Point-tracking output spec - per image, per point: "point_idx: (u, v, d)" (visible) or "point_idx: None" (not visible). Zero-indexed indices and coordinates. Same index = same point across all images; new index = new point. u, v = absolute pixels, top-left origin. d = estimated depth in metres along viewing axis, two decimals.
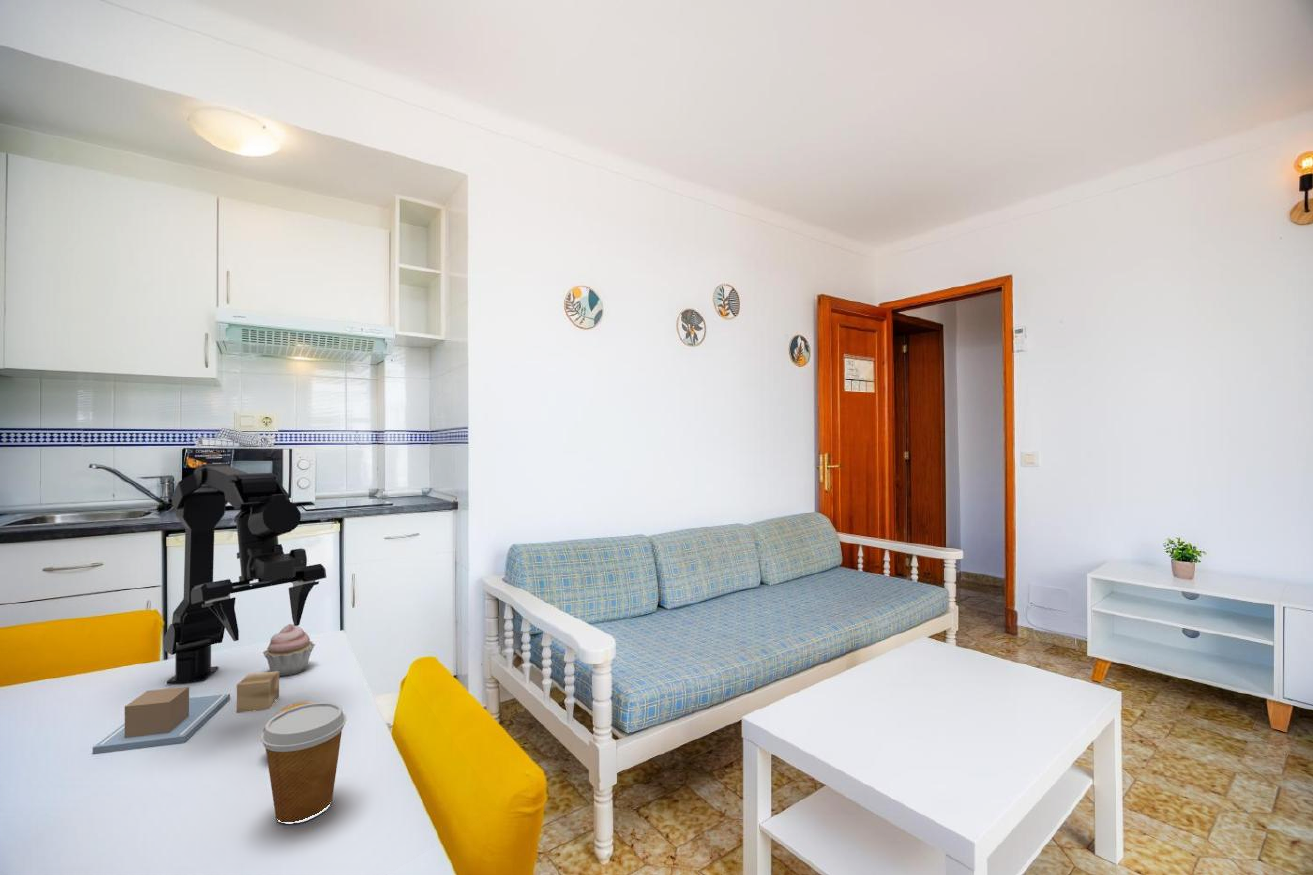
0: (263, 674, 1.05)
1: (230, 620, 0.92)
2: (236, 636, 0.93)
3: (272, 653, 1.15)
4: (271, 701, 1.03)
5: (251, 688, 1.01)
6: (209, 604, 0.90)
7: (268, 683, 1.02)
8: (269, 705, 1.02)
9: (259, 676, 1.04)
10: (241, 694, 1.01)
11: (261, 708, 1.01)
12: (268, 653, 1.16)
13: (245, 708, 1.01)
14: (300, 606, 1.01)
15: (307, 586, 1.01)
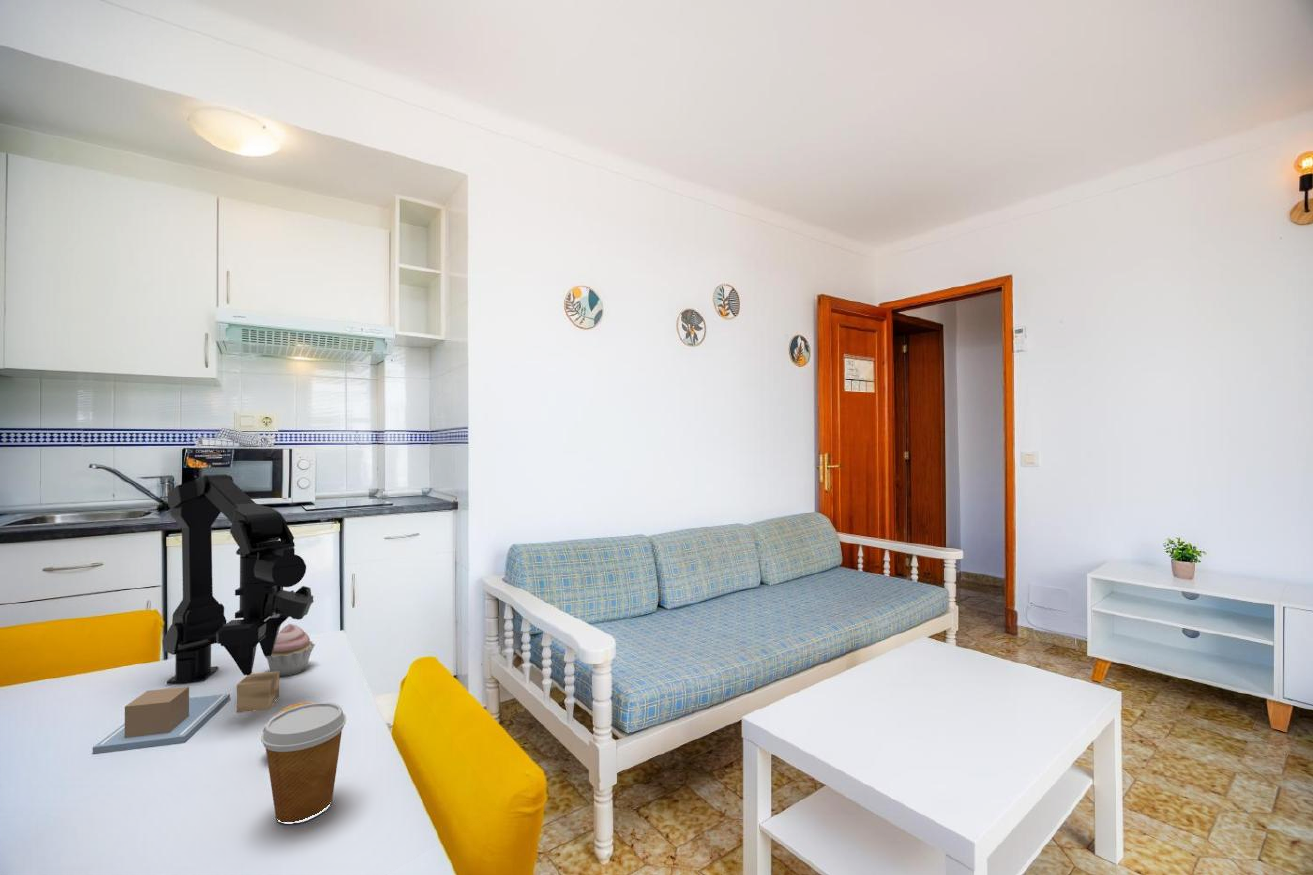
0: (263, 674, 1.05)
1: (253, 656, 0.99)
2: (250, 671, 0.99)
3: (272, 653, 1.15)
4: (271, 701, 1.03)
5: (251, 688, 1.01)
6: (245, 643, 0.96)
7: (268, 683, 1.02)
8: (269, 705, 1.02)
9: (259, 676, 1.04)
10: (241, 694, 1.01)
11: (261, 708, 1.01)
12: None
13: (245, 708, 1.01)
14: (275, 637, 1.09)
15: None
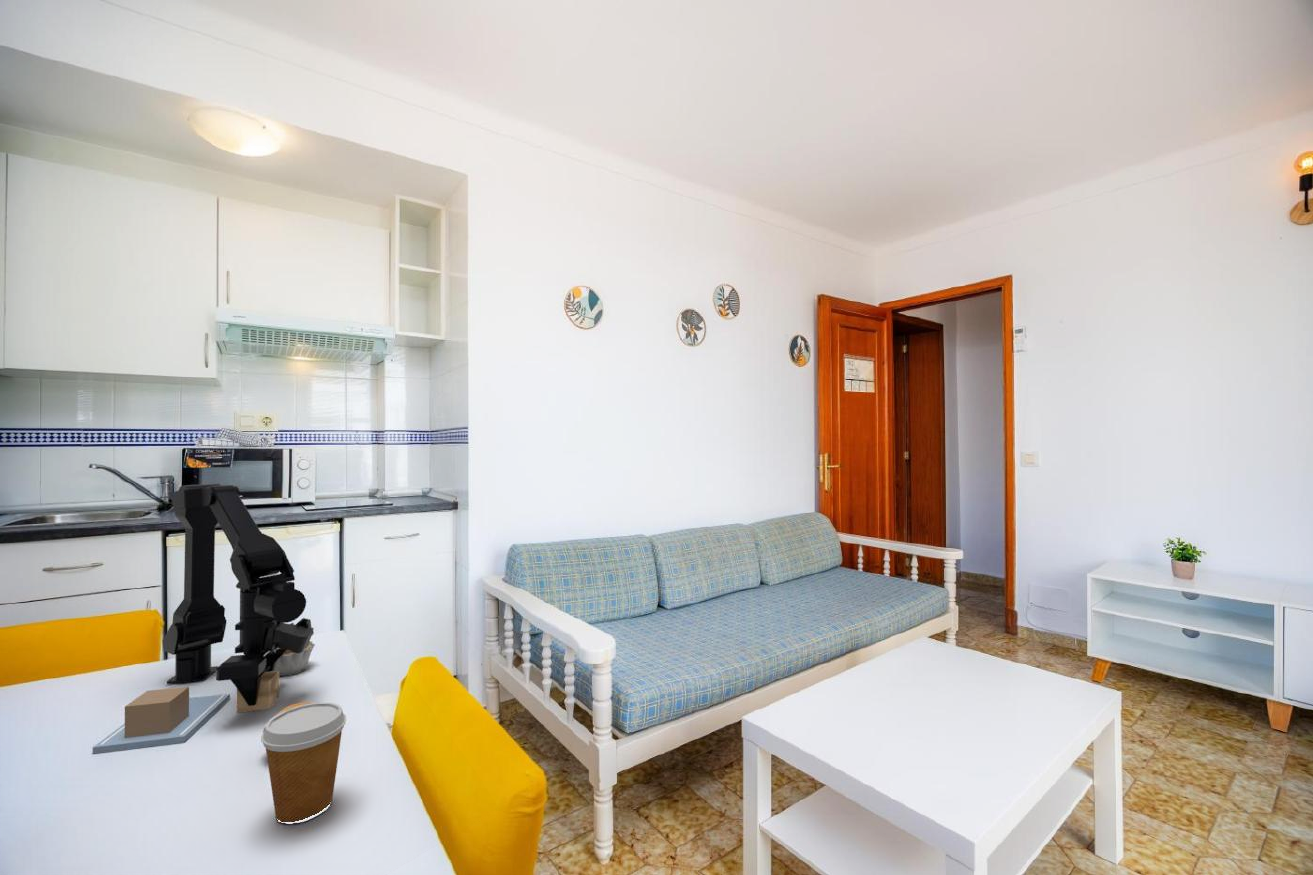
0: None
1: (257, 687, 1.00)
2: (255, 701, 1.01)
3: None
4: (271, 701, 1.03)
5: None
6: None
7: (268, 682, 1.02)
8: (269, 704, 1.02)
9: None
10: None
11: (261, 707, 1.01)
12: None
13: (245, 707, 1.01)
14: None
15: (282, 654, 1.08)
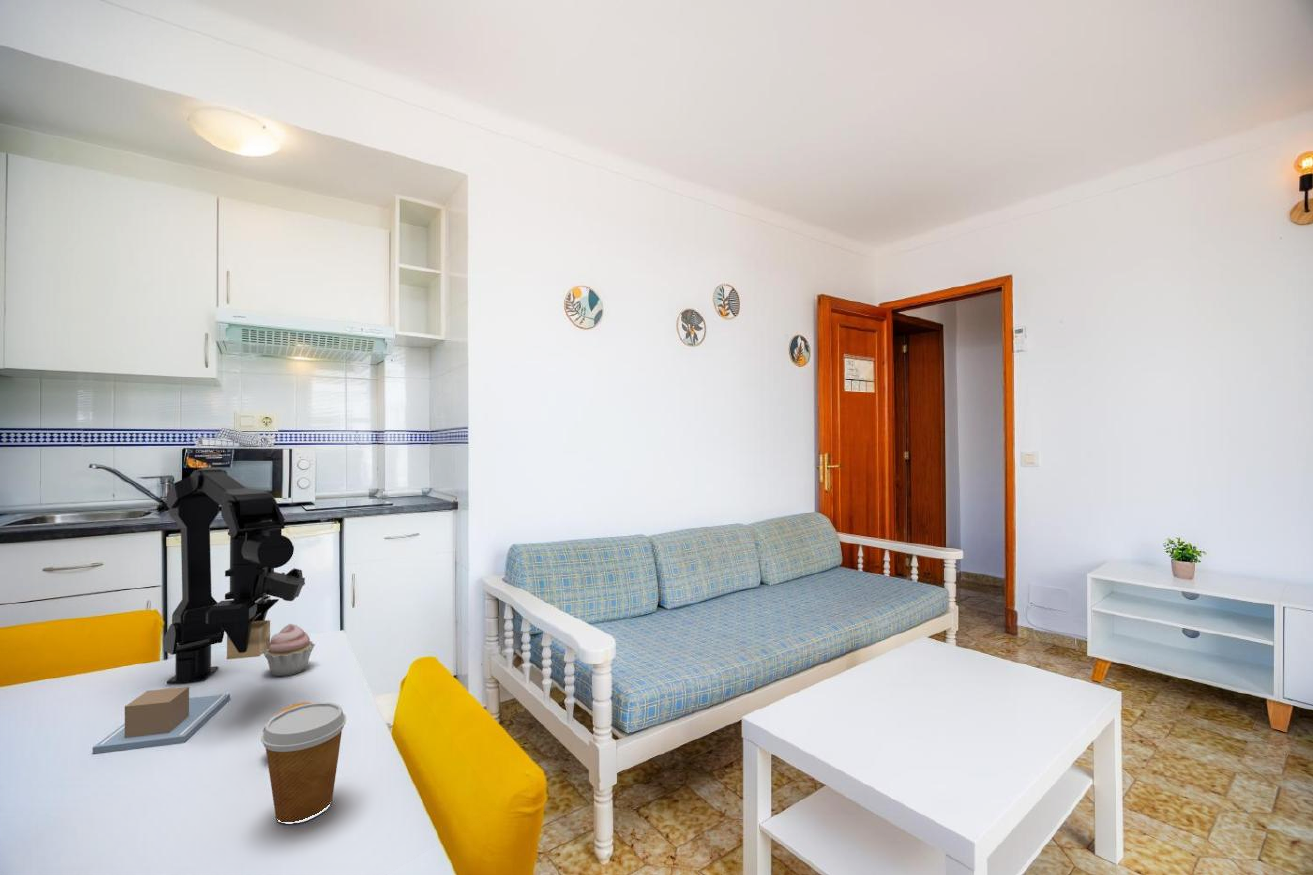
0: (254, 622, 1.04)
1: (248, 633, 0.99)
2: (245, 648, 1.00)
3: (272, 653, 1.15)
4: (262, 649, 1.02)
5: None
6: None
7: (259, 630, 1.01)
8: (260, 652, 1.01)
9: None
10: None
11: (252, 655, 1.00)
12: (268, 653, 1.16)
13: (235, 654, 1.00)
14: None
15: (273, 604, 1.07)
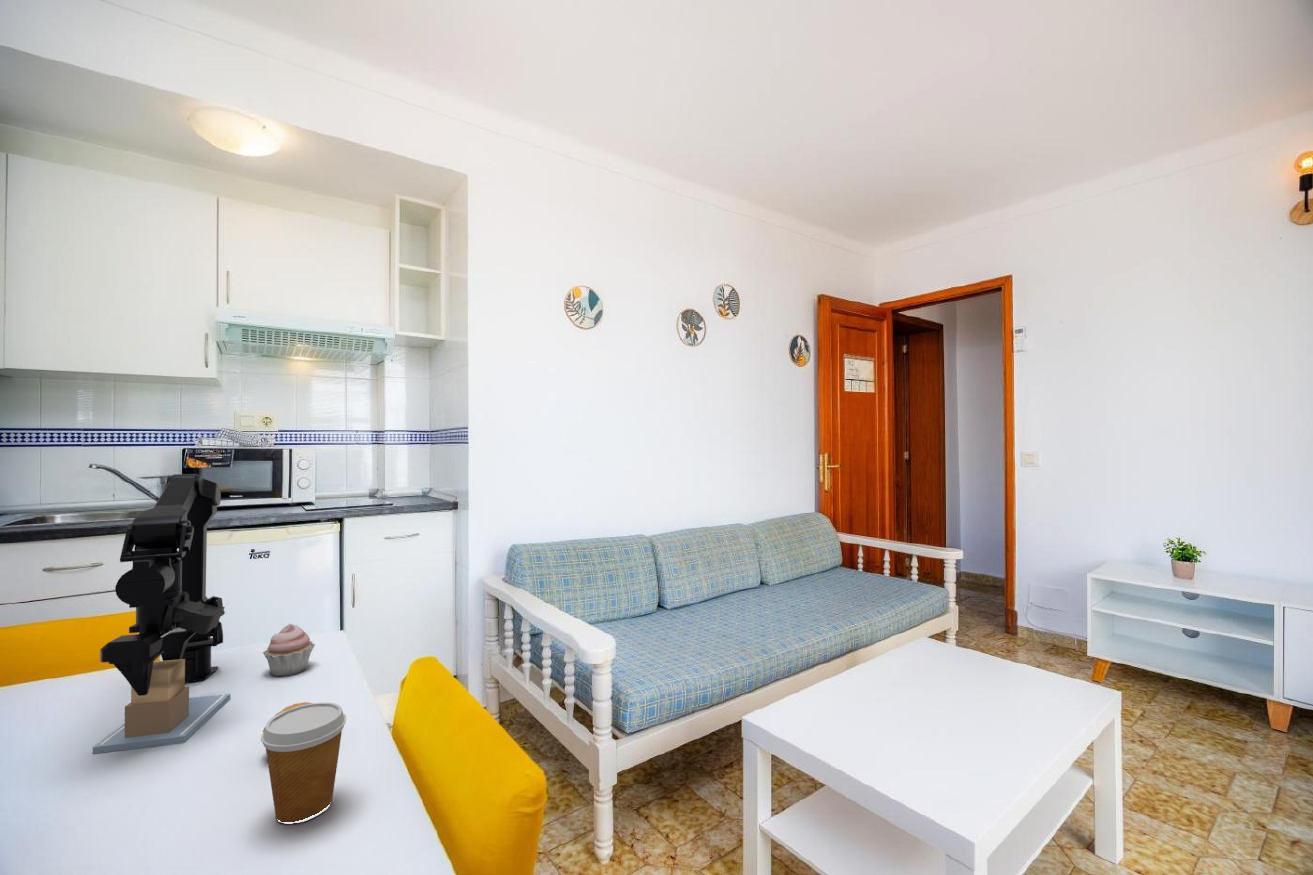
0: (165, 662, 0.95)
1: (148, 674, 0.89)
2: (146, 690, 0.89)
3: (272, 653, 1.15)
4: (172, 692, 0.93)
5: None
6: (137, 660, 0.86)
7: (168, 671, 0.92)
8: (169, 696, 0.92)
9: (160, 664, 0.94)
10: None
11: (159, 699, 0.91)
12: (268, 653, 1.16)
13: (141, 699, 0.91)
14: (181, 654, 0.98)
15: (194, 633, 1.00)
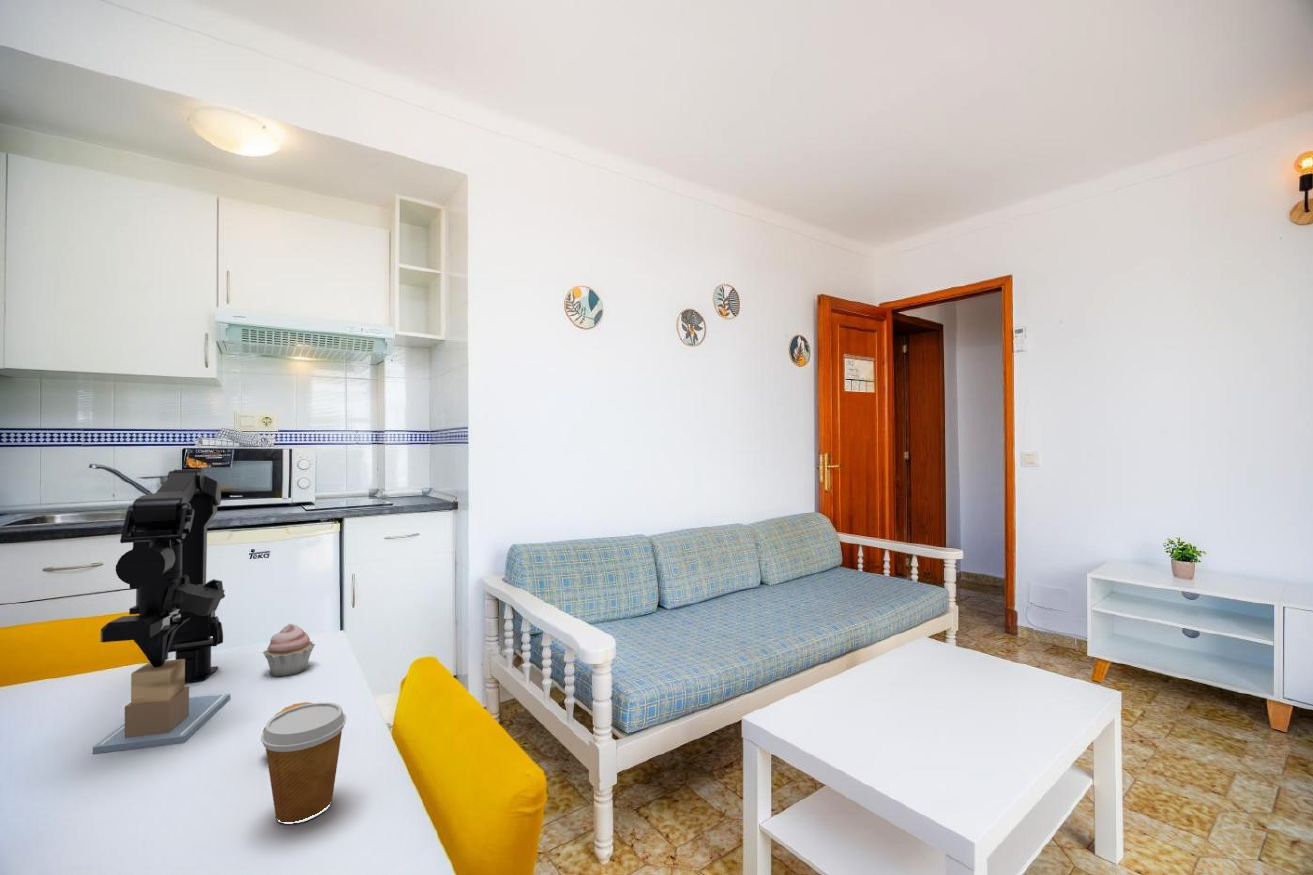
0: (165, 662, 0.95)
1: (163, 647, 0.93)
2: (161, 662, 0.93)
3: (272, 653, 1.15)
4: (172, 692, 0.93)
5: (148, 677, 0.91)
6: None
7: (168, 672, 0.92)
8: (169, 696, 0.92)
9: None
10: (136, 684, 0.91)
11: (159, 699, 0.91)
12: (268, 653, 1.16)
13: (141, 699, 0.91)
14: (169, 644, 0.94)
15: (182, 623, 0.96)
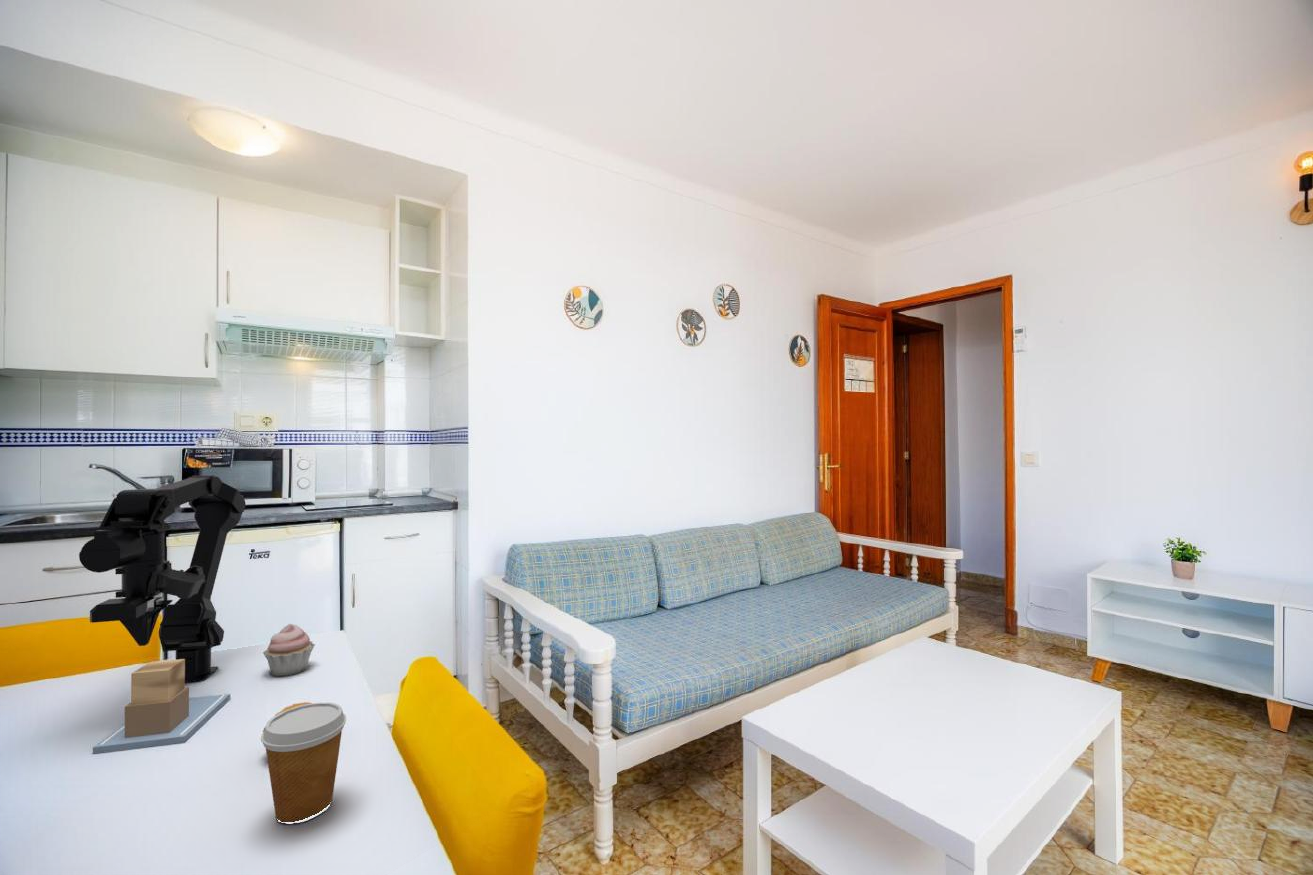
0: (165, 662, 0.95)
1: (148, 627, 1.01)
2: (146, 641, 1.01)
3: (272, 653, 1.15)
4: (172, 692, 0.93)
5: (148, 677, 0.91)
6: None
7: (168, 671, 0.92)
8: (169, 696, 0.92)
9: (160, 664, 0.94)
10: (136, 684, 0.91)
11: (159, 699, 0.91)
12: (268, 653, 1.16)
13: (141, 699, 0.91)
14: (153, 625, 1.02)
15: (165, 605, 1.03)
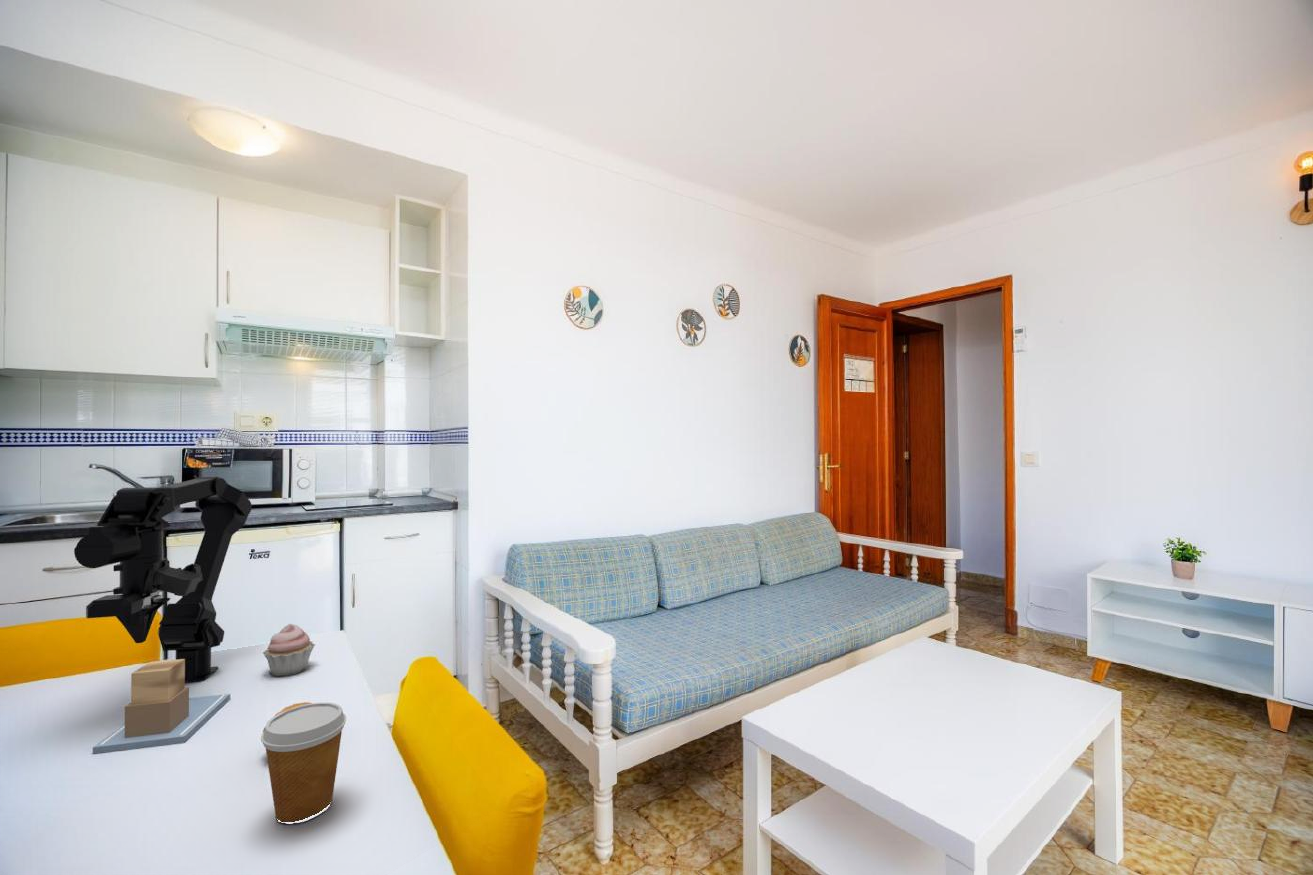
0: (165, 662, 0.95)
1: (144, 624, 1.01)
2: (143, 639, 1.02)
3: (272, 653, 1.15)
4: (172, 692, 0.93)
5: (148, 677, 0.91)
6: None
7: (168, 671, 0.92)
8: (169, 696, 0.92)
9: (160, 664, 0.94)
10: (136, 684, 0.91)
11: (159, 699, 0.91)
12: (268, 653, 1.16)
13: (141, 699, 0.91)
14: (150, 623, 1.03)
15: (163, 603, 1.04)
